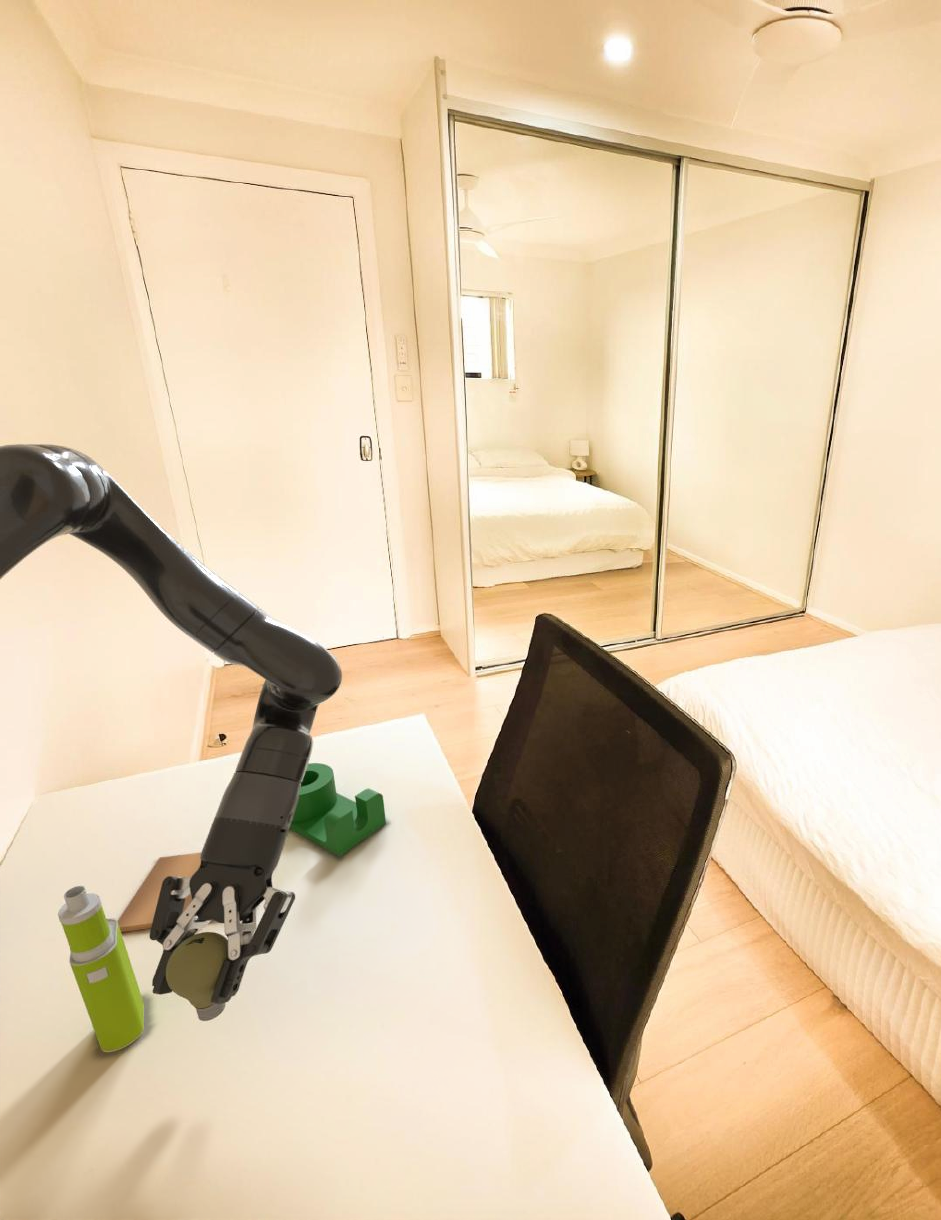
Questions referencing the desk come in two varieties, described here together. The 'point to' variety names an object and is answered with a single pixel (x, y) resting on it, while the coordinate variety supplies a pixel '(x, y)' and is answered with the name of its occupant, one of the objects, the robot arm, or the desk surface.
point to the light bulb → (198, 971)
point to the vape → (102, 970)
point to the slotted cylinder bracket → (335, 812)
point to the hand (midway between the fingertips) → (191, 997)
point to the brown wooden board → (156, 890)
